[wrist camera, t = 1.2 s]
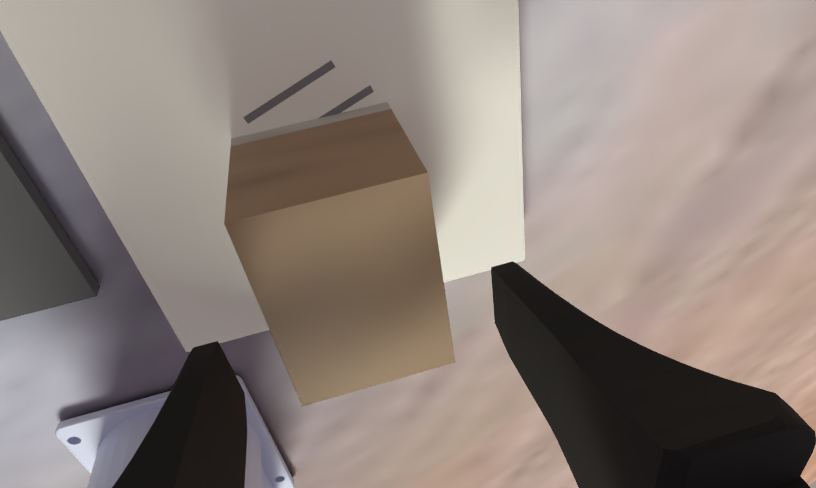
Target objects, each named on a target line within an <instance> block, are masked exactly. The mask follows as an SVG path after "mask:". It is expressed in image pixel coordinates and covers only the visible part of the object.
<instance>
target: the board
mask: <svg viewBox="0 0 816 488" xmlns="http://www.w3.org/2000/svg"><path fill="white" fill-rule="evenodd" d="M0 32H1V33H2V35H3V37H4V38H5V40H6V42H7V44H8V45H9V47H10V49H11V51H12V52H13V54H14V56H15V57H16V59H17V61H18V63H19V64H20V66H21V68H22V70H23V71H24V73H25V75H26V76H27V78H28V80H29V82H30V83H31V85H32V87H33V89H34V90H35V92H36V94H37V95H38V97H39V99H40V101H41V102H42V104H43V106H44V108H45V109H46V111H47V113H48V114H49V116H50V118H51V120H52V121H53V123H54V125H55V127H56V128H57V130H58V132H59V133H60V135H61V137H62V139H63V140H64V142H65V144H66V146H67V147H68V149H69V151H70V152H71V154H72V156H73V158H74V159H75V161H76V163H77V165H78V166H79V168H80V170H81V171H82V173H83V175H84V177H85V178H86V180H87V182H88V184H89V185H90V187H91V189H92V190H93V192H94V194H95V196H96V197H97V199H98V201H99V203H100V204H101V206H102V208H103V209H104V211H105V213H106V215H107V216H108V218H109V220H110V222H111V223H112V225H113V227H114V228H115V230H116V232H117V234H118V235H119V237H120V239H121V241H122V242H123V244H124V246H125V247H126V249H127V251H128V253H129V254H130V256H131V258H132V260H133V261H134V263H135V265H136V266H137V268H138V270H139V272H140V273H141V275H142V277H143V279H144V280H145V282H146V284H147V285H148V287H149V289H150V291H151V292H152V294H153V296H154V298H155V299H156V301H157V303H158V304H159V306H160V308H161V310H162V311H163V313H164V315H165V317H166V318H167V320H168V322H169V323H170V325H171V327H172V329H173V330H174V332H175V334H176V336H177V337H178V339H179V341H180V342H181V344H182V346H183V348H184V349H185V351H186V353H187V352H190V351H191V350H192V349H193V347H197V346H201V345H204V344H208V343H212V342H216V341H218V343H219V344H220V343H223V342H227V341H231V340H234V339H238V338H242V337H245V336H249V335H253V334H256V333H260V332H264V331H267V330H270V329H269V327H268V325H267V322H266V320H265V318H264V315H263V313H262V311H261V308H260V306H259V304H258V301H257V299H256V297H255V294H254V292H253V290H252V287H251V285H250V283H249V280H248V278H247V276H246V273H245V271H244V269H243V266H242V264H241V262H240V259H239V257H238V255H237V252H236V250H235V248H234V245H233V243H232V241H231V238H230V236H229V234H228V231H227V229H226V227H225V224H224V219H225V207H226V195H227V183H228V171H229V159H230V148H231V139H233V138H237V137H241V136H245V135H250V134H254V133H258V132H262V131H267V130H271V129H275V128H279V127H284V126H288V125H292V124H296V123H301V122H305V121H309V120H313V119H318V118H322V117H326V116H330V115H335V114H339V113H343V112H347V111H352V110H356V109H360V108H364V107H369V106H373V105H377V104H382V103H386V102H388V104H389V106H390V108H391V109H392V111H393V113H394V115H395V116H396V118H397V120H398V122H399V123H400V125H401V127H402V128H403V130H404V132H405V134H406V135H407V137H408V139H409V141H410V142H411V144H412V146H413V148H414V149H415V151H416V153H417V155H418V156H419V158H420V160H421V161H422V163H423V165H424V167H425V168H426V170H427V172H428V177H429V184H430V191H431V198H432V205H433V212H434V219H435V226H436V233H437V240H438V247H439V253H440V260H441V267H442V274H443V281H444V282H447V281H451V280H455V279H459V278H462V277H466V276H470V275H473V274H477V273H481V272H484V271H488V270H491V267H494V266H497V265H501V264H505V263H508V262H512V261H513V262H515V263H517V262H521V261H525V245H524V205H523V166H522V126H521V86H520V46H519V7H518V0H0Z"/></svg>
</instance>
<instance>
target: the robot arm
mask: <svg viewBox="0 0 816 488" xmlns="http://www.w3.org/2000/svg"><path fill="white" fill-rule="evenodd" d="M491 274H492V288H493V302H494V316H495V324H496V326H497V328H498V331H499V333H500V336H501V338H502V340H503V343H504V345H505V347H506V350H507V352H508V354H509V356H510V358H511V360H512V361H513V363H514V365H515V367H516V368H517V370H518V372H519V374H520V375H521V377H522V379H523V380H524V382H525V384H526V386H527V387H528V389H529V391H530V392H531V394H532V396H533V398H534V399H535V401H536V403H537V404H538V406H539V408H540V409H541V411H542V413H543V415H544V416H545V418H546V420H547V421H548V423H549V425H550V427H551V429H552V431H553V433H554V434H555V436H556V438H557V440H558V443H559V445H560V447H561V449H562V451H563V453H564V456H565V458H566V460H567V462H568V464H569V467H570V469H571V471H572V473H573V476H574V478H575V480H576V482H577V485H578V487H579V488H810V487H809V486H808V484H807V483H806V482H805V481H804V480H803V479H802V478H801V477H800V475H801V473H802V471H803V470H804V468H805V466H806V464H807V462H808V460H809V458H810V456H811V454H812V453H813V450H814V447H815V444H816V436H815V431H814V430H813V429H812V428H811V427H810V426H809V425H808V424H807V423H806V422H805V421H804V420H803V419H802V418H801V417H800V416H799V415H798V414H797V413H796V412H795V411H794V410H793V409H792V408H791V407H790V406H789V405H788V404H787V403H786V402H785V401H784V400H782V399H781V398H780V397H779V396H778V395H777V394H776V393H773V392H769V391H766V390H762V389H759V388H755V387H752V386H748V385H745V384H741V383H738V382H734V381H731V380H728V379H725V378H722V377H719V376H716V375H713V374H710V373H707V372H704V371H702V370H699V369H696V368H693V367H691V366H688V365H686V364H683V363H680V362H678V361H676V360H673V359H671V358H669V357H666V356H664V355H662V354H659V353H657V352H654V351H652V350H650V349H648V348H646V347H644V346H642V345H639V344H638V343H636V342H634V341H632V340H630V339H628V338H626V337H624V336H622V335H620V334H618V333H616V332H615V331H613V330H611V329H609V328H608V327H606V326H604V325H603V324H601V323H599V322H598V321H596V320H594V319H593V318H591V317H590V316H588V315H586V314H585V313H583V312H582V311H580V310H579V309H577V308H576V307H574V306H573V305H571V304H570V303H569V302H567V301H566V300H564V299H563V298H561V297H560V296H558V295H557V294H556V293H554V292H553V291H552V290H550V289H549V288H548V287H546V286H545V285H544V284H542V283H541V282H540V281H538V280H537V279H536V278H534V277H533V276H532V275H531V274H529V273H528V272H527V271H525V270H524V269H523V268H522V267H520V266H519V265H518V264H516V263H515V262H513V261H512V262H508V263H505V264H501V265H497V266H494V267H491ZM55 434H56V436H57V437H58V438H59V440H60V441H61V442H62V443H63V444H64V445H65V446H66V447H67V448H68V449H69V450H70V452H71V453H72V454H73V455H74V456H75V457H76V458H77V459H78V460H79V461H80V463H81V464H82V465H83V466H84V467H85V468H86V469H87V470H88V471H89V472H90V473H91V476H90V479H89V483H88V487H87V488H294V480H293V478H292V476H291V474H290V472H289V470H288V468H287V466H286V464H285V462H284V460H283V458H282V456H281V454H280V453H279V451H278V449H277V447H276V445H275V443H274V441H273V439H272V437H271V435H270V433H269V431H268V429H267V427H266V425H265V423H264V421H263V419H262V417H261V415H260V413H259V411H258V409H257V407H256V405H255V404H254V402H253V400H252V398H251V396H250V394H249V392H248V390H247V388H246V386H245V384H244V382H243V380H242V379H241V377H239V376H237V375H235V373H234V371H233V369H232V368H231V366H230V364H229V362H228V360H227V358H226V356H225V354H224V352H223V350H222V348H221V346H220V344H219V343H218V341H216V342H212V343H208V344H204V345H201V346H197V347H193V349H192V350H191V352H190V354H189V356H188V358H187V360H186V362H185V364H184V366H183V368H182V370H181V372H180V374H179V376H178V378H177V380H176V382H175V384H174V385H173V387H172V389H171V391H168V392H165V393H161V394H157V395H154V396H150V397H147V398H143V399H139V400H136V401H132V402H129V403H125V404H121V405H118V406H114V407H111V408H107V409H103V410H100V411H96V412H93V413H89V414H85V415H82V416H78V417H75V418H71V419H68V420H64V421H62V422H60V423H59V424H58V426H57V428H56V432H55Z"/></svg>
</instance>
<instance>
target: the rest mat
mask: <svg viewBox="0 0 816 488" xmlns="http://www.w3.org/2000/svg"><path fill="white" fill-rule="evenodd" d="M99 288H100V285H99V283H98V282H97V280H96V279H95V277H94V276H93V274H92V273H91V271H90V269H89V268H88V266H87V265H86V263H85V262H84V260H83V259H82V257H81V256H80V254H79V253H78V251H77V249H76V248H75V246H74V245H73V243H72V242H71V240H70V239H69V237H68V236H67V234H66V232H65V231H64V229H63V228H62V226H61V225H60V223H59V222H58V220H57V219H56V217H55V216H54V214H53V212H52V211H51V209H50V208H49V206H48V205H47V203H46V202H45V200H44V199H43V197H42V195H41V194H40V192H39V191H38V189H37V188H36V186H35V185H34V183H33V182H32V180H31V179H30V177H29V175H28V174H27V172H26V171H25V169H24V168H23V166H22V165H21V163H20V162H19V160H18V158H17V157H16V155H15V154H14V152H13V151H12V149H11V148H10V146H9V145H8V143H7V142H6V140H5V138H4V137H3V135H2V134H1V132H0V321H1V320H5V319H9V318H13V317H17V316H21V315H25V314H29V313H32V312H36V311H40V310H44V309H48V308H52V307H56V306H60V305H64V304H67V303H71V302H75V301H79V300H83V299H87V298H91V297H95V296H97V293H98V290H99Z"/></svg>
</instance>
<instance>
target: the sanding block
mask: <svg viewBox="0 0 816 488" xmlns="http://www.w3.org/2000/svg"><path fill="white" fill-rule="evenodd" d="M224 224H225V227H226V229H227V231H228V234H229V236H230V238H231V241H232V243H233V245H234V248H235V250H236V252H237V255H238V257H239V259H240V262H241V264H242V266H243V269H244V271H245V273H246V276H247V278H248V280H249V283H250V285H251V287H252V290H253V292H254V294H255V297H256V299H257V301H258V304H259V306H260V308H261V311H262V313H263V315H264V318H265V320H266V322H267V325H268V327H269V329H270V332H271V334H272V336H273V339H274V341H275V343H276V346H277V348H278V350H279V353H280V355H281V357H282V360H283V362H284V364H285V367H286V369H287V371H288V374H289V376H290V378H291V381H292V383H293V385H294V388H295V390H296V392H297V395H298V397H299V399H300V402H301V404H302V406H305V405H309V404H312V403H316V402H319V401H323V400H326V399H329V398H333V397H336V396H340V395H343V394H347V393H350V392H354V391H357V390H361V389H364V388H368V387H371V386H374V385H378V384H381V383H385V382H388V381H392V380H395V379H399V378H402V377H406V376H409V375H413V374H416V373H420V372H423V371H426V370H430V369H433V368H437V367H440V366H444V365H447V364H451V363H454V362H455V358H454V351H453V344H452V337H451V330H450V323H449V316H448V309H447V302H446V295H445V288H444V281H443V274H442V267H441V260H440V253H439V247H438V240H437V233H436V226H435V219H434V212H433V205H432V198H431V191H430V184H429V177H428V172H427V170H426V168H425V167H424V165H423V163H422V161H421V160H420V158H419V156H418V155H417V153H416V151H415V149H414V148H413V146H412V144H411V142H410V141H409V139H408V137H407V135H406V134H405V132H404V130H403V128H402V127H401V125H400V123H399V122H398V120H397V118H396V116H395V115H394V113H393V111H392V109H391V108H390V106H389V104H388V102H386V103H382V104H377V105H373V106H369V107H364V108H360V109H356V110H352V111H347V112H343V113H339V114H335V115H330V116H326V117H322V118H318V119H313V120H309V121H305V122H301V123H296V124H292V125H288V126H284V127H279V128H275V129H271V130H267V131H262V132H258V133H254V134H250V135H245V136H241V137H237V138H233V139H231V148H230V159H229V171H228V183H227V195H226V207H225V219H224Z"/></svg>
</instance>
